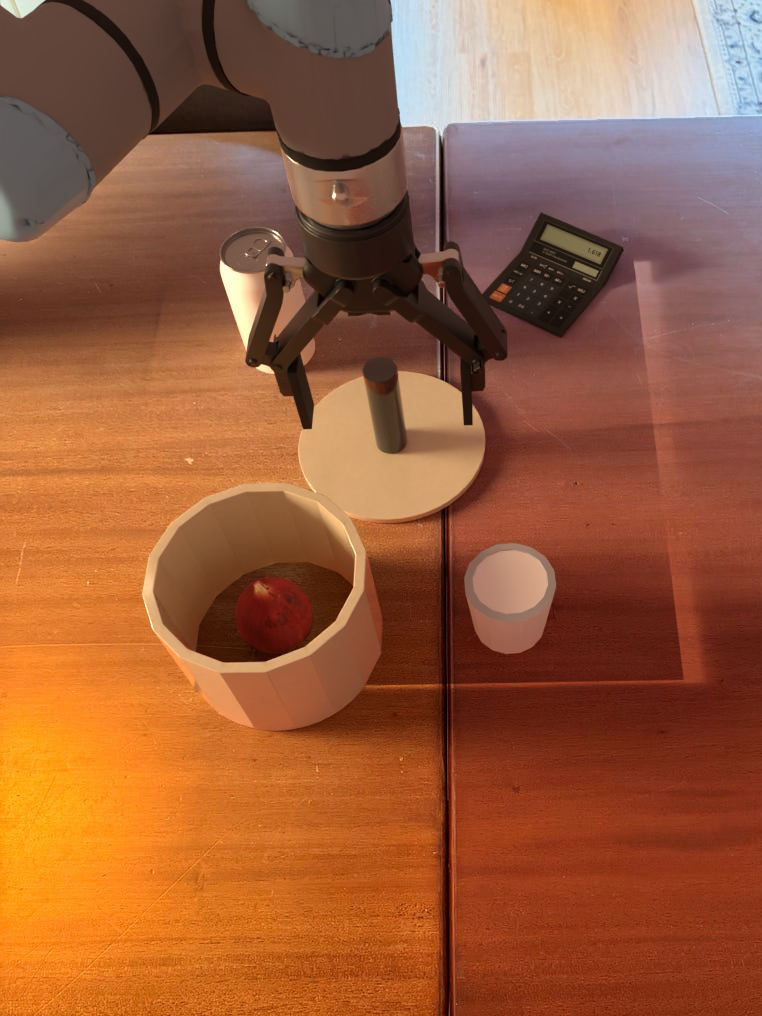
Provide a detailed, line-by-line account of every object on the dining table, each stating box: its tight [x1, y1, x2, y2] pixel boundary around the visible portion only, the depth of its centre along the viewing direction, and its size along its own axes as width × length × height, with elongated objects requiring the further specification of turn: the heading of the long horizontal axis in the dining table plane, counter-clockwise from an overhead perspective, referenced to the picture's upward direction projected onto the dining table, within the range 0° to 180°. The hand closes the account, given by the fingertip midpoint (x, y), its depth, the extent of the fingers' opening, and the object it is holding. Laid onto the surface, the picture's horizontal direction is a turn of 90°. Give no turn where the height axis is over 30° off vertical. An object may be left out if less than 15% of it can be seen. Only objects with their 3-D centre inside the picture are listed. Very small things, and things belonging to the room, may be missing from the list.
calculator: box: [482, 211, 625, 339], centre depth 91 cm, size 9×12×3 cm
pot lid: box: [297, 356, 487, 524], centre depth 79 cm, size 17×17×10 cm
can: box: [219, 225, 316, 375], centre depth 84 cm, size 6×6×12 cm
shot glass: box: [463, 542, 557, 655], centre depth 72 cm, size 7×7×7 cm
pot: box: [141, 482, 384, 732], centre depth 70 cm, size 16×16×10 cm
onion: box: [234, 575, 315, 655], centre depth 71 cm, size 6×6×8 cm
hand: (388, 415), depth 79 cm, fingers open, 13 cm apart
